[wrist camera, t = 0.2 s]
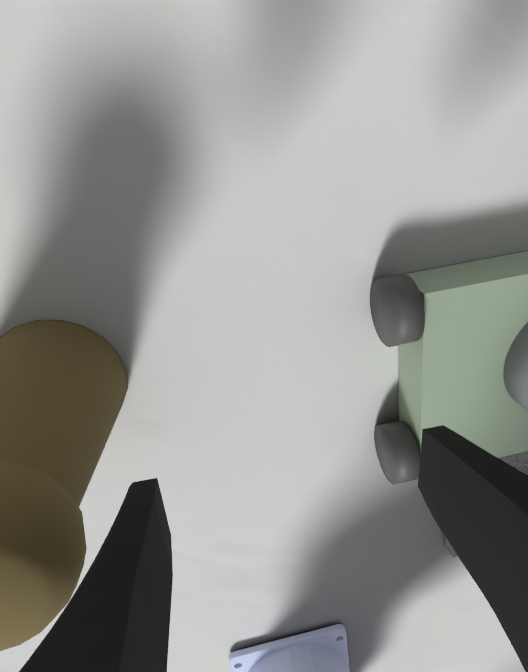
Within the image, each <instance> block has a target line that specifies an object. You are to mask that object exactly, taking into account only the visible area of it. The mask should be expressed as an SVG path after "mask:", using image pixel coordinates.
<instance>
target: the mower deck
mask: <svg viewBox="0 0 528 672" xmlns="http://www.w3.org/2000/svg"><path fill="white" fill-rule="evenodd" d="M370 308H371V314H372V319H373V323H374V326H375V329H376V332H377V334H378V336H379V338H380V339H381V341H382V342H383V343H384V344H385V345H386V346H388V347H391V346H396V345H399V421H395V422H391V423H386V424H382V425H377V426H376V427H375V431H374V440H375V447H376V452H377V456H378V459H379V462H380V465H381V468H382V470H383V472H384V474H385V476H386V478H387V479H388V480H389V482H390V483H392V484H398V483H402V482H406V481H411V480H415V479H418V478H419V466H420V454H421V441H422V429H426V428H431V427H437V426H442V425H444V426H446V427H447V428H449V429H451V430H453V431H454V432H456V433H458V434H459V435H461V436H463V437H464V438H466V439H467V440H469V441H471V442H472V443H474V444H476V445H477V446H479V447H480V448H482V449H484V450H485V451H487V452H489V453H490V454H492V455H494V456H495V457H497V458H501V457H505V456H509V455H513V454H518V453H522V452H526V451H528V251H524V252H518V253H513V254H508V255H503V256H497V257H492V258H487V259H481V260H476V261H471V262H466V263H460V264H455V265H450V266H444V267H439V268H434V269H429V270H423V271H418V272H413V273H408V274H402V275H397V276H392V277H386V278H381V279H376V280H375V281H374V282H373V284H372V286H371V291H370ZM445 545H446V547H447V549H448V550H449V552H450V553H451V555H452V557H454V556H458V555H457V553H456V552H455V550H454V549H453V547H452V546H451V544H450V543H449V541H448V540H447V538H446V537H445Z"/></svg>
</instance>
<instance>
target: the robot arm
mask: <svg viewBox="0 0 528 672" xmlns="http://www.w3.org/2000/svg"><path fill="white" fill-rule="evenodd" d="M418 487H419V489H420V491H421V493H422V495H423V498H424V500H425V502H426V504H427V506H428V508H429V510H430V512H431V514H432V516H433V518H434V520H435V521H436V523H437V524H438V526H439V527H440V529H441V531H442V532H443V534H444V535H445V537H446V538H447V540H448V541H449V543H450V544H451V546H452V547H453V549H454V550H455V552H456V553H457V555H458V556H459V558H460V559H461V561H462V563H463V564H464V566H465V567H466V569H467V570H468V572H469V573H470V575H471V576H472V578H473V579H474V581H475V582H476V584H477V585H478V587H479V588H480V590H481V591H482V593H483V594H484V596H485V597H486V599H487V601H488V602H489V604H490V606H491V607H492V609H493V611H494V612H495V614H496V616H497V618H498V620H499V621H500V623H501V625H502V627H503V629H504V631H505V633H506V634H507V636H508V638H509V640H510V642H511V644H512V646H513V648H514V649H515V651H516V653H517V655H518V657H519V659H520V661H521V663H522V665H523V667H524V669H525V671H526V672H528V475H526V474H524V473H522V472H521V471H519V470H517V469H515V468H514V467H512V466H510V465H509V464H507V463H505V462H504V461H502V460H500V459H499V458H497V457H495V456H494V455H492V454H490V453H489V452H487V451H485V450H484V449H482V448H480V447H479V446H477V445H476V444H474V443H472V442H471V441H469V440H467V439H466V438H464V437H463V436H461V435H459V434H458V433H456V432H454V431H453V430H451V429H449V428H447V427H446V426H444V425H442V426H437V427H431V428H426V429H422V441H421V454H420V466H419V479H418ZM172 576H173V573H172V549H171V534H170V530H169V526H168V521H167V517H166V513H165V509H164V505H163V501H162V496H161V492H160V488H159V484H158V480H157V478H155V479H150V480H144V481H139V482H133V483H132V484H131V486H130V487H129V489H128V492H127V494H126V497H125V499H124V501H123V504H122V506H121V508H120V510H119V513H118V515H117V517H116V519H115V521H114V523H113V525H112V527H111V529H110V531H109V533H108V535H107V537H106V539H105V541H104V543H103V545H102V547H101V549H100V551H99V553H98V555H97V556H96V558H95V560H94V562H93V563H92V565H91V567H90V569H89V570H88V572H87V574H86V575H85V577H84V579H83V581H82V582H81V584H80V586H79V587H78V589H77V591H76V592H75V594H74V596H73V597H72V599H71V600H70V602H69V603H68V605H67V606H66V608H65V609H64V611H63V613H62V614H61V615H60V617H59V618H58V620H57V621H56V623H55V624H54V626H53V627H52V629H51V630H50V631H49V633H48V634H47V636H46V637H45V638H44V640H43V641H42V642H41V644H40V645H39V646H38V648H37V649H36V650H35V652H34V653H33V654H32V656H31V657H30V658H29V660H28V661H27V662H26V664H25V665H24V666H23V667H22V669H21V670H20V671H19V672H167V655H168V639H169V624H170V609H171V593H172ZM229 664H230V667H231V671H232V672H350V671H349V659H348V647H347V635H346V630H345V627H344V625H342V624H336V625H333V626H329V627H325V628H321V629H317V630H314V631H310V632H306V633H302V634H298V635H295V636H291V637H287V638H283V639H279V640H276V641H272V642H268V643H264V644H260V645H256V646H253V647H249V648H245V649H241V650H237V651H234V652H232V653H231V654H230V655H229Z"/></svg>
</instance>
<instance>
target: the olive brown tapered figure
mask: <svg viewBox="0 0 528 672" xmlns="http://www.w3.org/2000/svg"><path fill="white" fill-rule="evenodd" d="M126 392H127V374H126V369H125V367H124V365H123V362H122V360H121V358H120V356H119V354H118V352H117V351H116V350H115V349H114V348H113V347H112V346H111V345H110V344H109V343H108V342H107V341H106V340H105V339H104V338H103V337H101V336H100V335H98V334H96V333H95V332H93V331H91V330H89V329H88V328H86V327H84V326H81V325H77V324H73V323H69V322H66V321H62V320H37V321H33V322H30V323H27V324H23V325H20V326H17V327H14V328H13V329H11V330H10V331H8V332H7V333H5V334H4V335H3V336H1V337H0V651H2V650H5V649H8V648H11V647H14V646H17V645H20V644H22V643H24V642H25V641H27V640H29V639H30V638H32V637H34V636H35V635H37V634H38V633H40V632H41V631H42V630H43V629H44V628H45V627H46V626H47V625H48V624H49V623H50V622H51V621H52V620H53V619H54V618H55V617H56V616H57V614H58V613H59V612H60V611H61V610H62V609H63V608H64V607H65V605H66V604H67V603H68V602H69V600H70V598H71V596H72V594H73V592H74V590H75V588H76V586H77V583H78V580H79V577H80V574H81V571H82V568H83V565H84V559H85V553H86V541H85V533H84V525H83V517H82V512H81V510H80V509H79V506H80V503H81V501H82V499H83V496H84V494H85V491H86V489H87V487H88V484H89V482H90V480H91V477H92V475H93V473H94V470H95V468H96V466H97V463H98V461H99V459H100V456H101V454H102V451H103V449H104V447H105V444H106V442H107V440H108V437H109V435H110V433H111V430H112V428H113V426H114V423H115V421H116V419H117V416H118V414H119V411H120V409H121V407H122V404H123V401H124V398H125V395H126Z"/></svg>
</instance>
